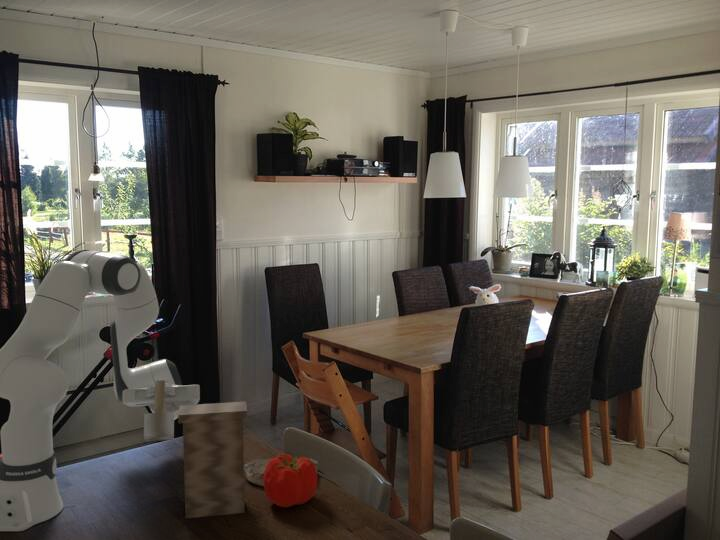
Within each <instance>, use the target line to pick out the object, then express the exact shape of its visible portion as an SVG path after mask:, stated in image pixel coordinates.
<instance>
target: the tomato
mask: <svg viewBox="0 0 720 540" xmlns="http://www.w3.org/2000/svg"><path fill="white" fill-rule="evenodd" d="M293 458H294V459H293ZM270 459H271V460H270V461H269V462H268V464H267V466H266V469H265V472H264V476H263V485H264V486H263V488H264V489H263V490H264V493H265V496H266V497H267V499H268V501H270V502H271V503H273V504H275V505H276V506H278V507H280V508H290V507H292V506H294V505H296V506H297V505H298V506H300V505H303V504H306V503H307V502H308V501H310V500H311V499H312V498H313V497H314V495H315V493H316V492H317V489H318V488H317V487H318V471H317V470H316V467H315V465H314V463H313V462H312V461H311V460H310V459H311V458H307V457H305V456H301V457H298V456H295V457H292V456H291V455H289V454H286V453H279V454H277V455H276V457H274V458H272V457H271V458H270ZM296 459H298V460H296Z"/></svg>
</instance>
